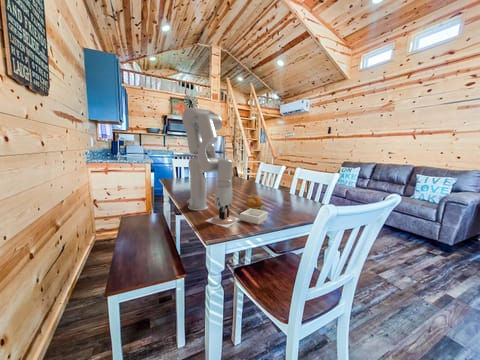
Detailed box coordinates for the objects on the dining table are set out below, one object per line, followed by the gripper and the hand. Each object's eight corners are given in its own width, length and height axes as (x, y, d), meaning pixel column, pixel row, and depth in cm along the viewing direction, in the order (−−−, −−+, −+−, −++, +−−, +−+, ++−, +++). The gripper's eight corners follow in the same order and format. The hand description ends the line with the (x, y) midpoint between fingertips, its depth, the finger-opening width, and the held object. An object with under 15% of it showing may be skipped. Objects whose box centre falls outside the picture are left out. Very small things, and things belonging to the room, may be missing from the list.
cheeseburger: (266, 209, 131) (265, 195, 127) (258, 218, 122) (257, 203, 119) (251, 206, 136) (250, 192, 132) (243, 214, 127) (242, 200, 124)
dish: (239, 220, 112) (240, 213, 111) (250, 214, 121) (250, 208, 120) (258, 225, 106) (258, 217, 105) (267, 219, 115) (268, 212, 114)
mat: (204, 221, 108) (204, 220, 108) (221, 214, 120) (221, 213, 120) (226, 228, 101) (226, 227, 101) (242, 219, 113) (242, 219, 113)
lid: (207, 220, 109) (207, 209, 108) (221, 214, 119) (221, 203, 118) (226, 226, 102) (226, 213, 101) (239, 219, 112) (240, 207, 111)
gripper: (228, 180, 116) (227, 212, 119) (208, 184, 102) (208, 220, 105) (239, 182, 112) (238, 215, 115) (220, 187, 98) (219, 224, 101)
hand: (223, 217), depth 110 cm, fingers closed on lid, 3 cm apart
